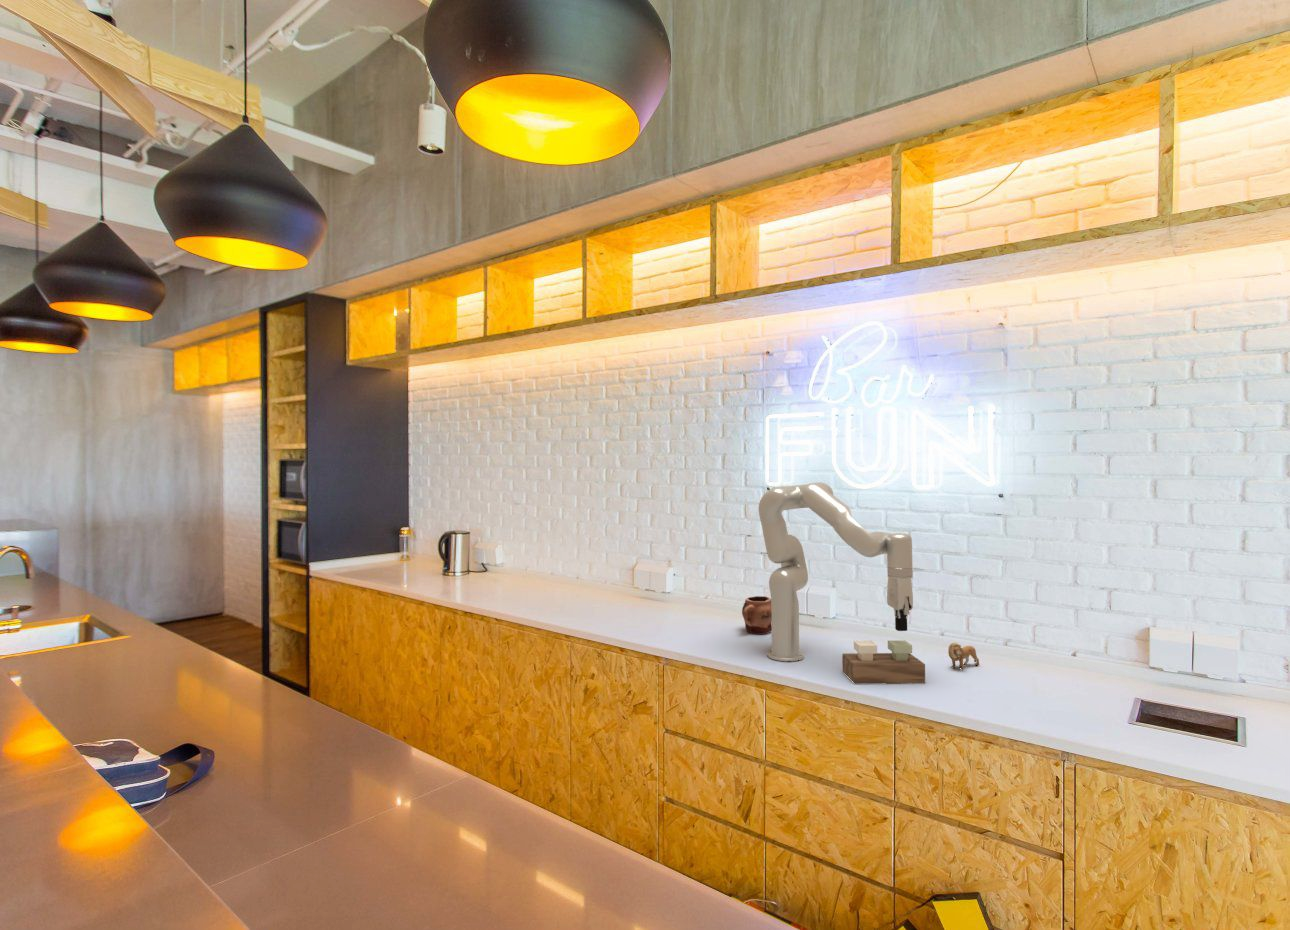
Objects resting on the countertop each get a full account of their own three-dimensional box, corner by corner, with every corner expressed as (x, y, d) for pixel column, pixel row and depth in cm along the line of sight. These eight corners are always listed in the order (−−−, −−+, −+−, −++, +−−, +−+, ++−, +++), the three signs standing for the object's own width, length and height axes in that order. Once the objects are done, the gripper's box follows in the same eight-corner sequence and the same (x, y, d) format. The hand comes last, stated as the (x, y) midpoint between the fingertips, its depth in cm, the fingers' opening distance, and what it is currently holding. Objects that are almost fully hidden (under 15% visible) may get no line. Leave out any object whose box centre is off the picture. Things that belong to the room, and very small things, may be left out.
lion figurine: (959, 673, 215) (959, 645, 215) (944, 669, 220) (944, 642, 219) (983, 665, 224) (982, 638, 224) (967, 661, 228) (967, 635, 228)
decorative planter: (760, 640, 255) (760, 604, 255) (732, 635, 262) (732, 600, 262) (781, 629, 272) (781, 595, 272) (754, 625, 279) (754, 592, 279)
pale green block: (887, 662, 214) (887, 640, 214) (905, 662, 214) (904, 640, 214) (894, 667, 208) (894, 645, 208) (912, 667, 209) (912, 645, 208)
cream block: (853, 662, 214) (853, 640, 214) (871, 662, 214) (871, 640, 214) (859, 667, 208) (859, 645, 208) (877, 667, 208) (877, 645, 208)
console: (842, 671, 217) (842, 653, 217) (909, 671, 217) (909, 653, 217) (854, 684, 205) (854, 664, 205) (925, 683, 205) (925, 664, 205)
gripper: (879, 569, 218) (881, 625, 218) (897, 576, 204) (898, 636, 203) (902, 568, 219) (903, 624, 218) (921, 576, 204) (923, 636, 203)
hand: (901, 630), depth 211 cm, fingers closed
